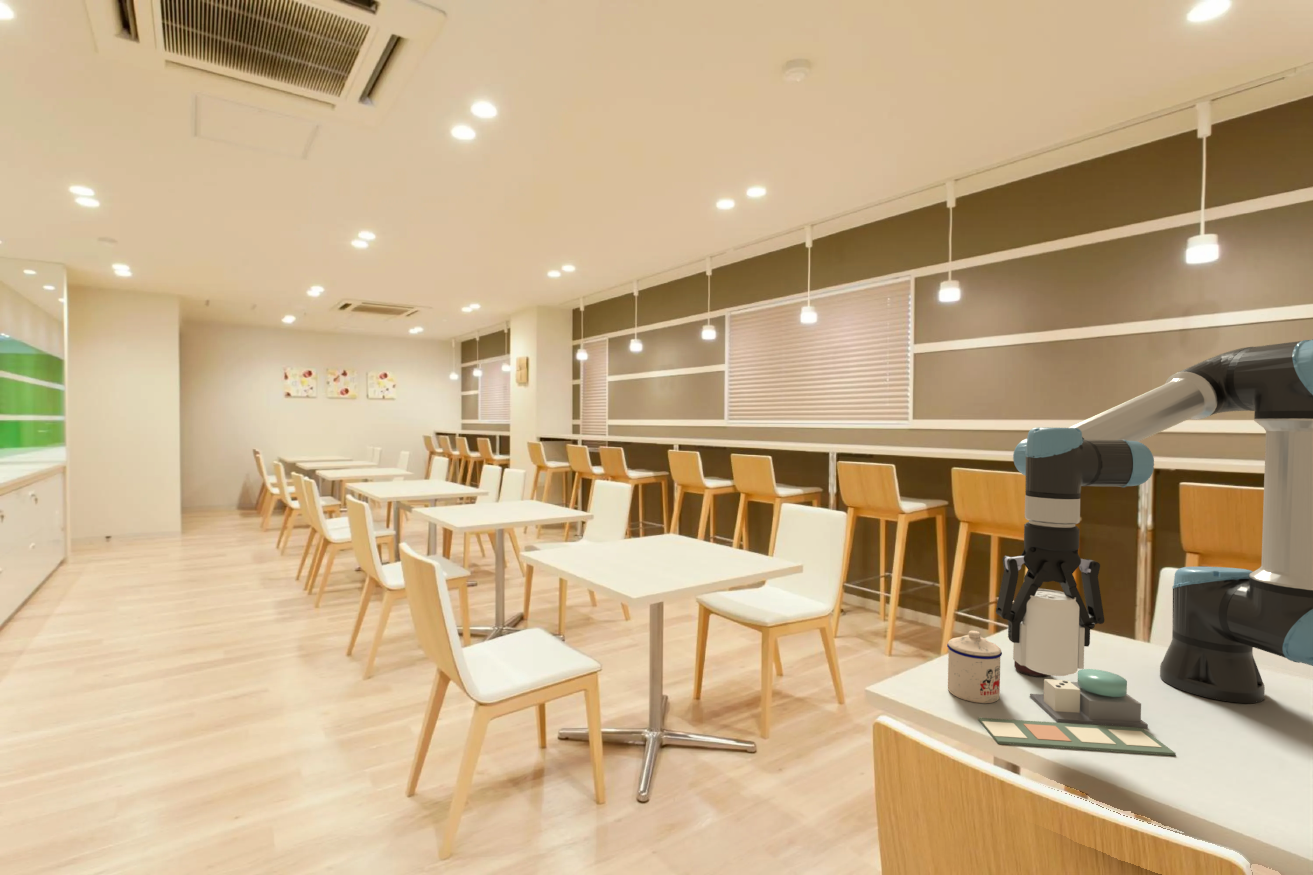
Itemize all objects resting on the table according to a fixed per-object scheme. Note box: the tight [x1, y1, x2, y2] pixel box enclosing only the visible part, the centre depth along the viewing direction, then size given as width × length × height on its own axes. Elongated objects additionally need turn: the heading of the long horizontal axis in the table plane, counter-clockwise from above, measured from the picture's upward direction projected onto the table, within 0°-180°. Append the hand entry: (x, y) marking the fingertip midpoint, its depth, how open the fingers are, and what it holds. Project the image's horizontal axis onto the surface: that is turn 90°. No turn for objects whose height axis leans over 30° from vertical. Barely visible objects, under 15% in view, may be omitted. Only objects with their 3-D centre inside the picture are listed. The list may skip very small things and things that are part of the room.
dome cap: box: [1077, 668, 1128, 697], centre depth 110 cm, size 7×7×5 cm
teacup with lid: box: [946, 630, 1003, 704], centre depth 118 cm, size 12×9×12 cm
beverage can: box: [1022, 588, 1079, 677], centre depth 101 cm, size 8×8×12 cm
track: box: [977, 717, 1177, 757], centre depth 101 cm, size 26×8×1 cm, turn 83°
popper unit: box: [1029, 678, 1149, 729], centre depth 110 cm, size 14×10×5 cm
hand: (1047, 663), depth 101 cm, fingers closed on beverage can, 8 cm apart
